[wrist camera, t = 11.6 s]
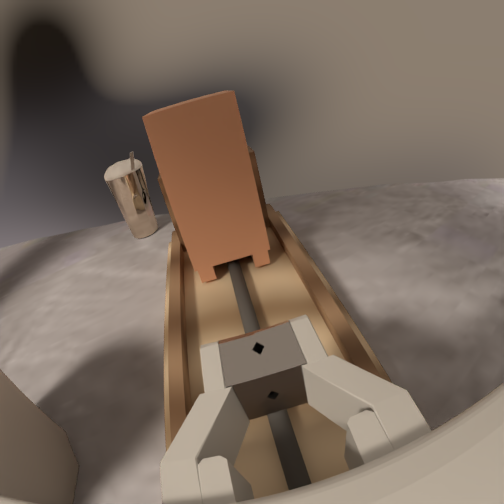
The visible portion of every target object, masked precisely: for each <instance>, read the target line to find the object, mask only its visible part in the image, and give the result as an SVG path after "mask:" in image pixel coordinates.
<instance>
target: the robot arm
mask: <svg viewBox="0 0 504 504" xmlns="http://www.w3.org/2000/svg"><path fill="white" fill-rule="evenodd" d="M200 356H201V365H202V374H203V383H204V391H205V393H203V394H199V396H198V398H197V400H196V401H195V403H194V405H193V407H192V408H191V410H190V412H189V414H188V415H187V417H186V419H185V421H184V422H183V424H182V426H181V428H180V429H179V431H178V433H177V435H176V436H175V438H174V440H173V442H172V443H171V445H170V447H169V448H168V450H167V452H166V454H165V455H164V457H163V459H162V460H161V462H160V476H161V491H162V504H504V382H503V383H502V384H501V385H500V386H498V387H497V388H496V389H494V390H493V391H492V392H490V393H489V394H488V395H486V396H485V397H484V398H482V399H481V400H479V401H478V402H477V403H475V404H474V405H472V406H471V407H469V408H468V409H466V410H465V411H463V412H462V413H460V414H459V415H457V416H456V417H454V418H453V419H451V420H449V421H448V422H446V423H444V424H443V425H441V426H439V427H438V428H436V429H434V430H433V431H431V429H430V427H429V425H428V424H427V422H426V420H425V419H424V417H423V415H422V414H421V412H420V411H419V409H418V407H417V406H416V404H415V402H414V401H413V399H412V398H411V396H410V394H409V393H408V391H407V390H405V389H403V388H401V387H399V386H397V385H395V384H392V383H390V382H388V381H386V380H384V379H382V378H380V377H378V376H376V375H374V374H372V373H370V372H367V371H365V370H363V369H361V368H359V367H357V366H355V365H353V364H351V363H349V362H347V361H345V360H343V359H341V358H339V357H337V356H335V355H331V356H328V355H327V353H326V351H325V349H324V347H323V345H322V343H321V341H320V339H319V337H318V335H317V333H316V331H315V329H314V327H313V325H312V323H311V321H310V319H309V317H308V316H307V315H306V314H305V315H302V316H299V317H296V318H293V319H290V320H288V321H284V322H281V323H278V324H275V325H272V326H269V327H265V328H262V329H259V330H256V331H253V332H250V333H246V334H242V335H239V336H235V337H231V338H227V339H223V340H219V341H216V342H212V343H208V344H204V345H201V347H200ZM305 403H308V404H309V405H310V406H312V407H313V408H315V409H316V410H317V411H319V412H320V413H321V414H323V415H324V416H326V417H327V418H328V419H330V420H331V421H333V422H334V423H336V424H337V425H338V426H340V427H341V428H343V429H344V430H346V431H347V432H346V443H345V453H344V458H345V460H346V463H347V465H348V468H349V471H346V472H344V473H341V474H338V475H336V476H333V477H330V478H327V479H324V480H321V481H318V482H315V483H312V484H309V485H306V486H302V487H299V488H295V489H292V490H288V491H285V492H281V493H277V494H273V495H269V496H265V497H260V498H256V499H254V495H253V491H252V487H251V484H250V483H249V482H248V481H247V480H246V479H245V478H244V477H243V476H242V475H241V474H240V473H239V472H238V471H237V470H236V469H235V468H234V464H235V461H236V458H237V456H238V453H239V450H240V448H241V445H242V442H243V440H244V437H245V434H246V431H247V428H248V426H249V423H250V421H249V420H252V419H255V418H259V417H262V416H265V415H268V414H272V413H275V412H278V411H281V410H285V409H289V408H292V407H295V406H299V405H302V404H305ZM0 504H37V503H32V502H27V501H22V500H18V499H14V498H10V497H6V496H2V495H0Z"/></svg>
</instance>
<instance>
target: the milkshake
mask: <svg viewBox="0 0 504 504" xmlns="http://www.w3.org/2000/svg"><path fill="white" fill-rule="evenodd" d="M104 179H105V180H106V182H107V184H108V186H109V188H110V190H111V192H112V194H113V196H114V198H115V200H116V202H117V204H118V206H119V208H120V210H121V212H122V214H123V216H124V219H125V221H126V223H127V225H128V227H129V228H130V230H131V232H132V234H133V236H134V238H138V239H140V238H145V237H147V236H149V235H151V234H153V233H154V232H155V231H156V230H157V229H158V224H157V221H156V217H155V214H154V211H153V207H152V204H151V200H150V197H149V193H148V189H147V184H146V180H145V175H144V171H143V167H142V163H141V162H140V161H138V160H136V159H134V154H133V152H131V153H130V159H128V160H123V161H119V162H117V163H115V164H114V165H113V166H110V167H109V168H108V169H107V170H106V172H105V175H104Z"/></svg>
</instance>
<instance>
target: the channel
mask: <svg viewBox="0 0 504 504" xmlns="http://www.w3.org/2000/svg"><path fill="white" fill-rule="evenodd" d="M247 147H248V152H249V156H250V160H251V165H252V169H253V174H254V178H255V182H256V187H257V191H258V196H259V200H260V205H261V209H262V214H263V218H264V223H265V227H266V232H267V237H268V241H269V246H270V250H268V254H269V259H270V263H269V264H265V265H262V266H259V267H255V264H254V262H253V259H252V256H251V255H250V256H246V257H243V258H239V262H240V266H241V269H242V272H243V275H244V278H245V282H246V285H247V288H248V291H249V294H250V297H251V301H252V304H253V307H254V310H255V313H256V316H257V320H258V323H259V326H260V329H262V328H265V327H269V326H272V325H275V324H278V323H281V322H284V321H288V320H290V319H293V318H296V317H299V316H302V315H305V314H306V315H307V316H308V317H309V319H310V321H311V323H312V325H313V327H314V329H315V331H316V333H317V335H318V337H319V339H320V341H321V343H322V345H323V347H324V349H325V351H326V353H327V355H328V356H331V355H335V356H337V357H339V358H341V359H343V360H345V361H347V362H349V363H351V364H353V365H355V366H357V367H359V368H361V369H363V370H365V371H367V372H370V373H372V374H374V375H376V376H378V377H380V378H382V379H384V380H386V381H388V382H390V383H392V382H391V380H390V378H389V377H388V375H387V374H386V372H385V370H384V369H383V367H382V365H381V364H380V362H379V361H378V359H377V357H376V356H375V354H374V353H373V351H372V349H371V348H370V346H369V345H368V343H367V342H366V340H365V338H364V337H363V335H362V334H361V332H360V331H359V329H358V327H357V326H356V324H355V323H354V321H353V320H352V318H351V317H350V315H349V314H348V312H347V310H346V309H345V307H344V306H343V304H342V303H341V301H340V300H339V298H338V297H337V295H336V294H335V292H334V291H333V289H332V288H331V286H330V285H329V283H328V282H327V280H326V279H325V277H324V276H323V274H322V273H321V271H320V270H319V268H318V267H317V266H316V264H315V263H314V261H313V260H312V258H311V257H310V255H309V254H308V252H307V251H306V249H305V248H304V247H303V245H302V244H301V242H300V241H299V239H298V238H297V237H296V235H295V234H294V232H293V231H292V229H291V228H290V227H289V225H288V224H287V222H286V221H285V219H284V218H283V217H282V215H281V214H280V212H279V211H277V212H275V211H274V209H273V208H272V206H271V205H270V204H266V203H265V199H264V195H263V190H262V185H261V181H260V176H259V171H258V167H257V163H256V158H255V153H254V151H253V150H252V149H251V148H250V147H249V146H247ZM158 182H159V185H160V188H161V191H162V194H163V196H164V199H165V202H166V205H167V208H168V211H169V214H170V216H171V219H172V222H173V225H174V228H175V230H176V231H173V232H172V242H170V243H169V248H168V262H167V277H166V296H165V322H164V414H165V438H166V452H167V450H168V448H169V447H170V445H171V443H172V442H173V440H174V438H175V436H176V435H177V433H178V431H179V429H180V428H181V426H182V424H183V422H184V421H185V419H186V417H187V415H188V414H189V412H190V410H191V408H192V407H193V405H194V403H195V401H196V400H197V398H198V396H199V394H203V393H205V391H204V383H203V374H202V365H201V356H200V347H201V345H204V344H208V343H212V342H216V341H219V340H223V339H227V338H231V337H235V336H239V335H242V334H245V332H244V328H243V324H242V320H241V316H240V312H239V308H238V305H237V301H236V297H235V293H234V289H233V285H232V281H231V277H230V273H229V269H228V265H227V262H226V263H222V264H219V265H215V272H216V277H217V279H214V280H211V281H207V282H204V283H202V281H201V279H200V276H199V273H198V271H194V268H193V266H192V263H191V260H190V258H189V255H188V252H187V250H186V247H185V244H184V241H183V239H182V236H181V233H180V230H179V228H178V225H177V222H176V219H175V216H174V213H173V211H172V208H171V205H170V202H169V199H168V196H167V193H166V190H165V187H164V184H163V181H162V178H161V175H160V173H159V177H158ZM392 384H393V383H392ZM287 412H288V415H289V418H290V421H291V424H292V427H293V430H294V433H295V436H296V439H297V442H298V445H299V448H300V451H301V454H302V457H303V460H304V463H305V466H306V468H307V471H308V474H309V477H310V480H311V483H315V482H318V481H321V480H324V479H327V478H330V477H333V476H336V475H338V474H341V473H344V472H346V471H349V468H348V465H347V463H346V460H345V458H344V453H345V443H346V432H347V431H346V430H344V429H343V428H341V427H340V426H338V425H337V424H336V423H334V422H333V421H331V420H330V419H328V418H327V417H326V416H324V415H323V414H321V413H320V412H319V411H317V410H316V409H315V408H313V407H312V406H310V405H309V404H308V403H305V404H302V405H299V406H295V407H292V408H289V409H287ZM249 421H250V423H249V426H248V428H247V431H246V434H245V437H244V440H243V442H242V445H241V448H240V450H239V453H238V456H237V458H236V461H235V464H234V468H235V469H236V470H237V471H238V472H239V473H240V474H241V475H242V476H243V477H244V478H245V479H246V480H247V481H248V482H249V483H250V484H251V487H252V491H253V495H254V499H256V498H260V497H265V496H269V495H273V494H277V493H281V492H285V491H288V490H289V489H288V485H287V482H286V479H285V475H284V472H283V469H282V465H281V462H280V459H279V455H278V452H277V448H276V445H275V441H274V438H273V434H272V431H271V427H270V424H269V420H268V417H267V415H265V416H262V417H259V418H255V419H252V420H249Z"/></svg>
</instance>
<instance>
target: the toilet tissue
mask: <svg viewBox="0 0 504 504" xmlns="http://www.w3.org/2000/svg"><path fill="white" fill-rule="evenodd" d="M78 469H79V465H78V463H77V460H76V458H75V455H74V453H73V450H72V448H71V445H70V442H69V440H68V437H67V434H66V432H65V431H64V430H63V429H62V428H61V427H59V426H58V425H57V424H56V423H55V422H53V421H52V420H51V419H50V418H49V417H48V416H47V415H46V414H44V413H43V412H42V411H41V410H40V409H39V408H38V407H37V406H36V405H35V404H34V403H33V402H32V401H30V400H29V399H28V398H27V397H26V396H25V395H24V394H23V393H22V392H21V391H20V390H19V389H18V388H17V387H16V385H15V384H14V383H13V382H12V381H11V380H10V379H9V378H8V377H7V376H6V375H5V374H4V373H3V372H2V370H1V369H0V495H2V496H6V497H10V498H14V499H18V500H22V501H27V502H32V503H37V504H73V500H74V493H75V487H76V481H77V475H78Z"/></svg>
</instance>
